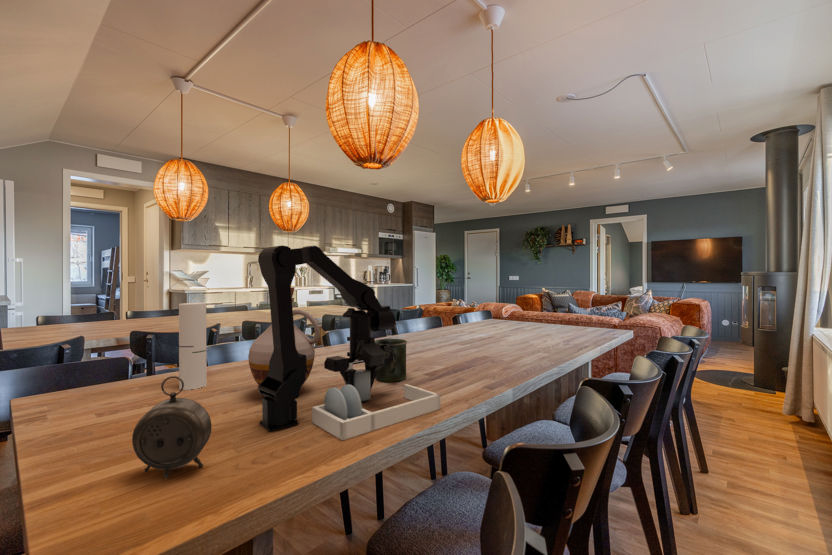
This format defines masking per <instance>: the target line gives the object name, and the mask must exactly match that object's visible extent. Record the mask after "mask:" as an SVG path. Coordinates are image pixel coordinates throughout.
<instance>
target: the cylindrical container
mask: <svg viewBox="0 0 832 555" xmlns="http://www.w3.org/2000/svg"><path fill="white" fill-rule="evenodd" d="M178 345H179V346H178V370H179V371H178V374H179V376H178V377H179V378H181V379H182V380H183V382H184V387H183V390H182V391H192V390H191V389H194V390H199V389H198V388H200V389H202V388H201V387H203V388H205V387H206V386H207V378H208V376H207V375H208V374H207V370H208V369H207V365H208V364H207V362H208V361H207V302H186V303H185V302H184V303H178ZM178 381H179V383H178V386H179V388H178V389H179V390H180V389H181V388H182V383H181V381H180V380H179V379H178ZM204 386H205V387H204Z"/></svg>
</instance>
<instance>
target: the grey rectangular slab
mask: <svg viewBox="0 0 832 555" xmlns="http://www.w3.org/2000/svg"><path fill="white" fill-rule="evenodd" d="M355 370H356V372H355V374H354V387H355V388H356V390H357V391H358V393H359V396H360V399H361V402H363V401H365V402H366V401H369V400H370V399H371V395H372V394H371V391H372V389H371V382H370V370H365V368H363V369H362V368H361V369H360V368H359V369H355Z"/></svg>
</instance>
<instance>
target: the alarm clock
mask: <svg viewBox="0 0 832 555" xmlns="http://www.w3.org/2000/svg"><path fill="white" fill-rule="evenodd" d="M170 379H177V380H178V381H179V380H180V381H181V383H182V388H181V390H180V389H179V391H178V392H177V393H176V392H175V391H173V392H171V393H167V391H165V389H164V385H165V383H166V382H167V381H168V380H170ZM160 386H161V388H160V389H161V391H162V393H163V394H164V395H166V396H169V397H170V398H167V399H164V400H162V401H160V402H158V403H157V404H155V405H154V406H152V407H151V409H149V410H148V411H147V412H146V413H144V415H143V416H142V417H141V418H139V420H138V421H137V423H136V424H135V426H134V429H133V432H132V437H131V438H132V439H131V440H132V442H131V443H132V447H133V451H134V454H135V455H136V456H137V458H138V459H139V460H140V461H141V462H142V463H143V464H144V465H146V467H145V468H144V470H143V471H144V473H145V472H148V471H149V470H150V468H153V469H156V470H159V471H162V470H163V471H164V474H163V479H164V478H167V479H169V475H170V471H171V470H175V469H180V468H183V467H185V466H186V465H188V464H190V463H191V462H192V461H193V462H194V463H195V464H197V465H198V468H200V467H201V468H203V466H204V464H203V463H202V461H201V459H200V458H199V457H198V456H199V455H200V453H201V452H202V450H203V449H204V448H205V446H206V444H207V443H208V441H209V440H210V437H211V434H212V421H211V416H210V414H209V412H208V411H207V410H206V408H205V407H203V405H201V404H200V403H199V402H197V401H195V400H193V399H190V398H187V397H186V398H185V397H176V396H177V395H179V394H180V393H181V392H182V391H184V390H183V387H184V382H183V380H182V379H181V378H179V376H178V375H177V376H176V375H171V376H170V375H169V376H168V377H166V378H165V379H164V380H163V381H162V382H161V385H160Z"/></svg>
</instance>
